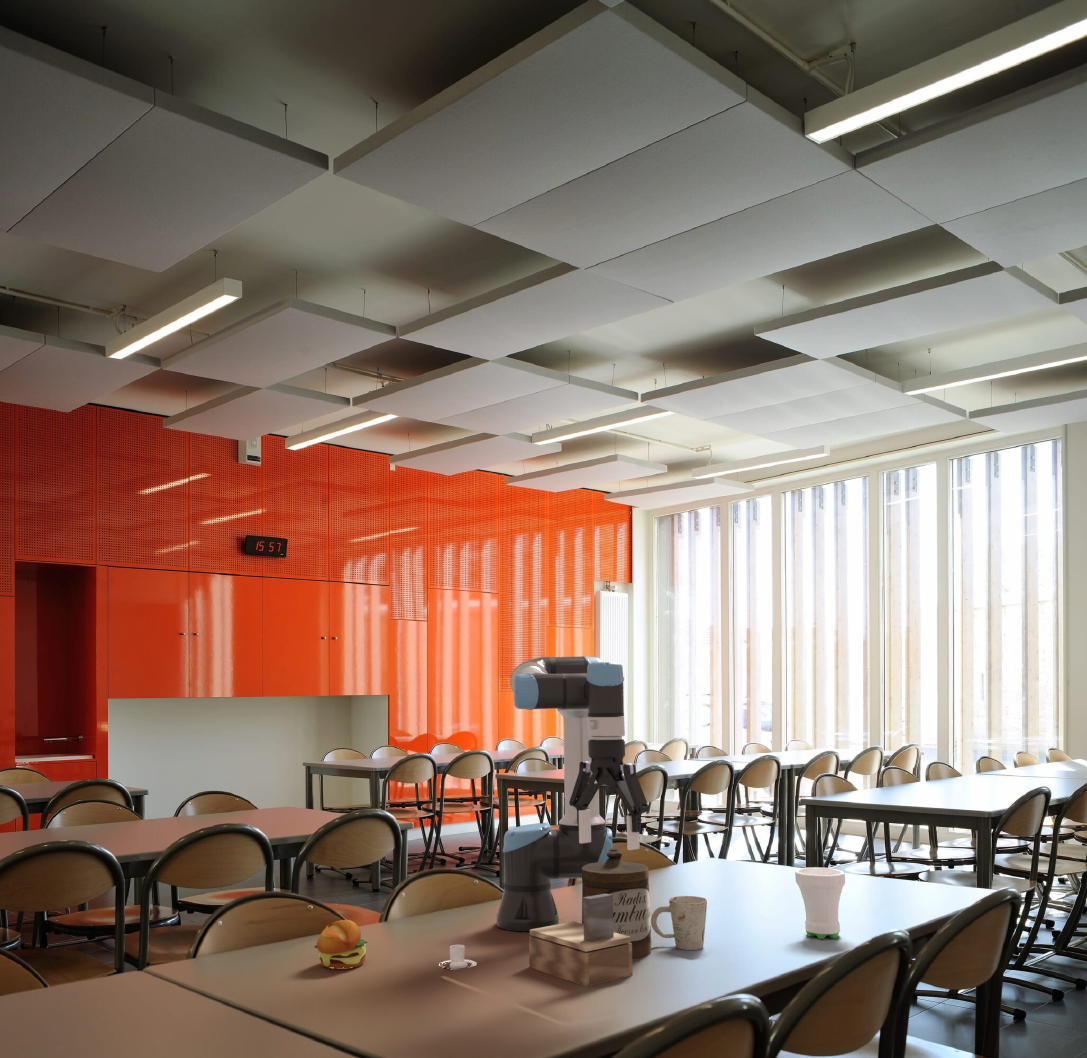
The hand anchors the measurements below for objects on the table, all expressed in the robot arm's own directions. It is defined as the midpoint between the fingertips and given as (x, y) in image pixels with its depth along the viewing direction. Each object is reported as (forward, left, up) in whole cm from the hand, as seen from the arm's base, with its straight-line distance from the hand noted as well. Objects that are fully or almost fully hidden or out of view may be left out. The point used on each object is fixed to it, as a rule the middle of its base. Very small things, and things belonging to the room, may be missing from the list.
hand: (608, 846), depth 205 cm
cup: (+5, +60, -25) cm, 65 cm away
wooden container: (-13, +13, -25) cm, 32 cm away
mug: (-9, +28, -25) cm, 39 cm away
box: (-6, -3, -25) cm, 26 cm away
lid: (-6, -3, -18) cm, 20 cm away
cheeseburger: (-43, -37, -25) cm, 62 cm away
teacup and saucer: (-28, -21, -26) cm, 44 cm away
